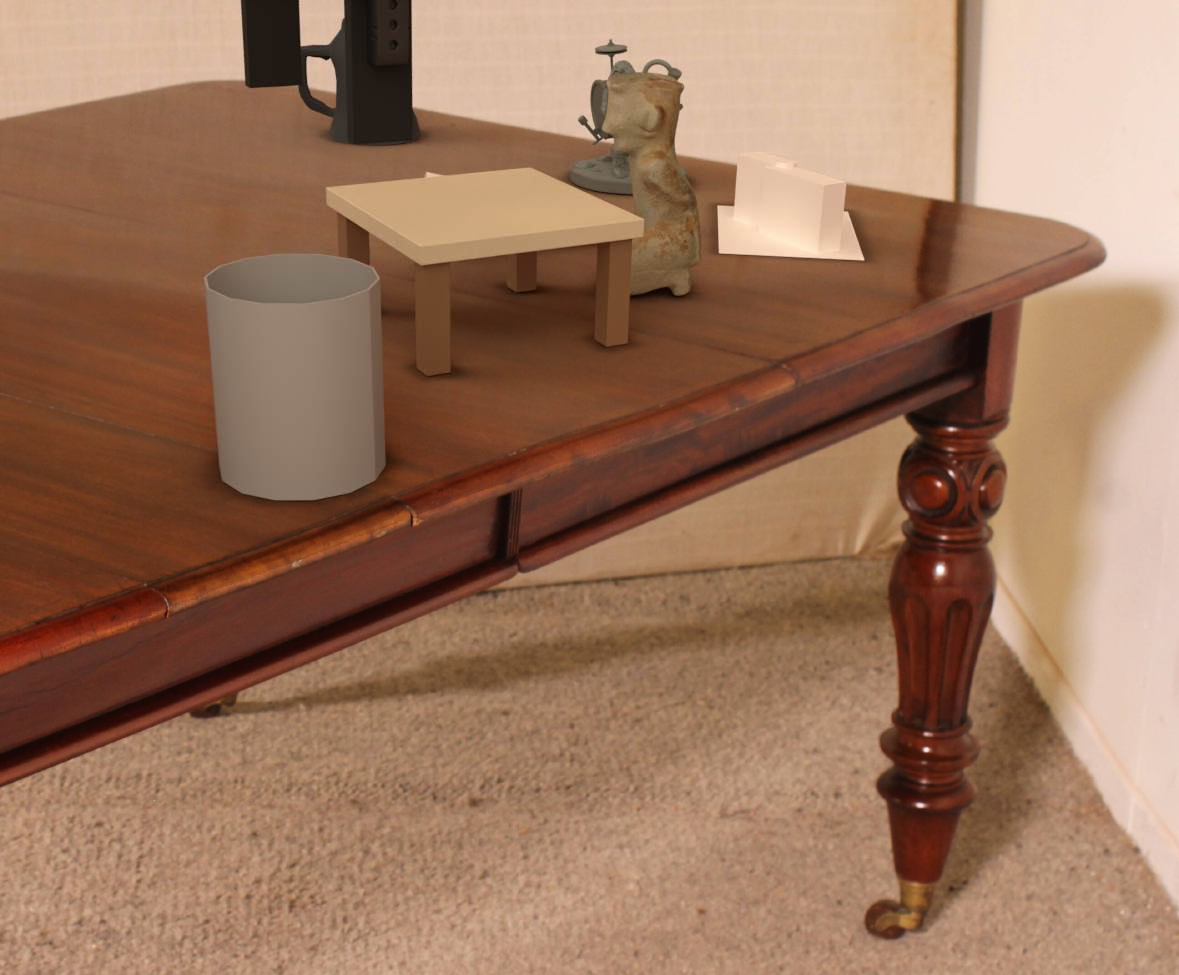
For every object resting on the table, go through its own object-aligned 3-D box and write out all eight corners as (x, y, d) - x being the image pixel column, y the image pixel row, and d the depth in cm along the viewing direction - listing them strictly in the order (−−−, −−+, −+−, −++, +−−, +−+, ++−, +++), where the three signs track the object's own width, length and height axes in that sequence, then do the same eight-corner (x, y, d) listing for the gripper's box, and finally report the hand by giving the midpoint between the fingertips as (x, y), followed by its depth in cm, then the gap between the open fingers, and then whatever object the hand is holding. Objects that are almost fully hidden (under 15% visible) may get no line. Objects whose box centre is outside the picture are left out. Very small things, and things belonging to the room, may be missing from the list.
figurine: (592, 197, 129) (596, 55, 124) (554, 169, 138) (557, 36, 133) (704, 191, 132) (713, 52, 127) (660, 164, 142) (667, 34, 137)
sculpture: (592, 278, 108) (599, 65, 101) (691, 279, 108) (704, 67, 102) (599, 303, 102) (607, 80, 96) (703, 304, 103) (718, 82, 97)
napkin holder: (867, 260, 114) (875, 186, 112) (718, 253, 115) (724, 180, 112) (847, 211, 128) (854, 144, 125) (715, 205, 128) (719, 138, 126)
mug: (420, 126, 154) (418, 13, 150) (421, 145, 146) (418, 26, 141) (303, 125, 153) (297, 11, 148) (296, 144, 145) (290, 24, 140)
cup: (189, 460, 77) (172, 272, 73) (324, 421, 82) (315, 244, 78) (278, 516, 71) (265, 316, 67) (416, 471, 76) (413, 283, 72)
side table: (422, 381, 88) (420, 245, 85) (330, 308, 100) (325, 186, 96) (638, 345, 95) (644, 218, 92) (529, 281, 107) (530, 166, 103)
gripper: (532, -438, 53) (518, 162, 62) (288, -388, 72) (305, 63, 81) (331, -464, 49) (347, 176, 58) (131, -404, 68) (167, 70, 77)
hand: (323, 112), depth 70 cm, fingers open, 13 cm apart
